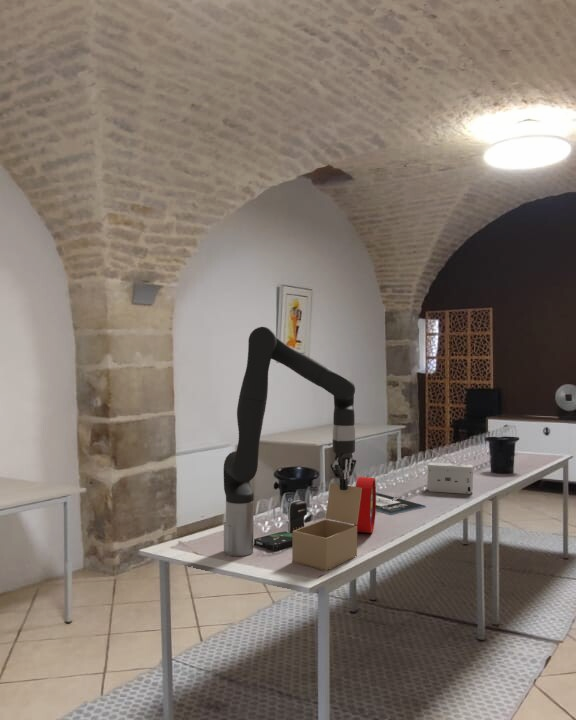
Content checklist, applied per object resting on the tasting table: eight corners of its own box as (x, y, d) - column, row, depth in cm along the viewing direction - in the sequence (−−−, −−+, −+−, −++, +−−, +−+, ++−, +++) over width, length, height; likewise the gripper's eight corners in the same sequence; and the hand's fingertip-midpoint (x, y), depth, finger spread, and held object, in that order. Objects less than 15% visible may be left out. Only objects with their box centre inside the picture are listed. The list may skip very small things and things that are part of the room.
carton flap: (361, 487, 221) (362, 488, 221) (330, 482, 228) (331, 483, 229) (356, 524, 219) (357, 524, 219) (325, 518, 226) (326, 518, 227)
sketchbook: (391, 516, 272) (391, 511, 272) (340, 502, 295) (340, 497, 295) (425, 508, 285) (425, 503, 285) (374, 495, 309) (375, 490, 309)
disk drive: (273, 553, 222) (305, 544, 233) (273, 545, 222) (305, 536, 233) (253, 546, 230) (284, 537, 240) (253, 538, 230) (284, 530, 240)
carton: (326, 570, 204) (326, 538, 204) (292, 562, 212) (292, 530, 212) (356, 556, 219) (357, 525, 219) (323, 548, 227) (324, 519, 226)
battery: (294, 535, 242) (295, 504, 241) (287, 533, 244) (287, 502, 244) (308, 531, 247) (308, 500, 246) (300, 529, 249) (301, 499, 249)
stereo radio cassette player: (472, 491, 316) (473, 449, 316) (472, 495, 308) (473, 452, 308) (427, 488, 322) (428, 447, 321) (426, 492, 314) (427, 450, 313)
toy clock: (369, 539, 237) (370, 483, 237) (353, 538, 239) (354, 482, 238) (375, 524, 257) (376, 473, 256) (360, 523, 258) (361, 472, 257)
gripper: (344, 434, 230) (344, 484, 231) (323, 439, 220) (323, 491, 220) (363, 436, 226) (363, 487, 226) (342, 441, 215) (342, 494, 216)
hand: (343, 489), depth 223 cm, fingers closed
